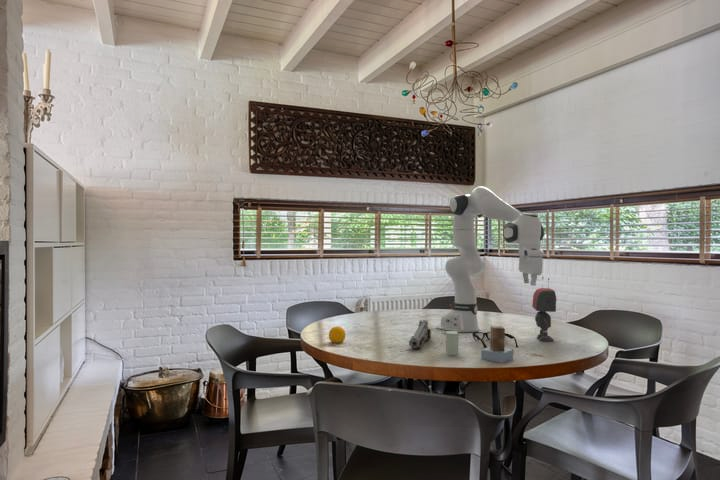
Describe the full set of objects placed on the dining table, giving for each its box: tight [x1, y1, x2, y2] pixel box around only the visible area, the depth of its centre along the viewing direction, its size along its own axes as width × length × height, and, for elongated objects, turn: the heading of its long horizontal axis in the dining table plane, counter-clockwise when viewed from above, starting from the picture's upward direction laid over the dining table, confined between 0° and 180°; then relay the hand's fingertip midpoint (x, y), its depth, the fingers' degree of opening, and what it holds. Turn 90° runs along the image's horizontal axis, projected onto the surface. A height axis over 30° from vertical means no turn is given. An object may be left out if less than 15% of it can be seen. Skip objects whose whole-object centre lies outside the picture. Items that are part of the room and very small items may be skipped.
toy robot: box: [531, 277, 557, 343], centre depth 216 cm, size 22×9×30 cm, turn 168°
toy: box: [408, 319, 432, 350], centre depth 207 cm, size 6×24×10 cm, turn 160°
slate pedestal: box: [480, 346, 514, 364], centre depth 183 cm, size 9×9×4 cm
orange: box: [328, 326, 347, 344], centre depth 211 cm, size 8×8×8 cm
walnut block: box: [489, 325, 506, 351], centre depth 182 cm, size 4×4×9 cm
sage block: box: [445, 330, 459, 356], centre depth 190 cm, size 4×4×9 cm
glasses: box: [472, 331, 519, 349], centre depth 208 cm, size 17×18×5 cm
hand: (529, 284), depth 190 cm, fingers open, 8 cm apart
